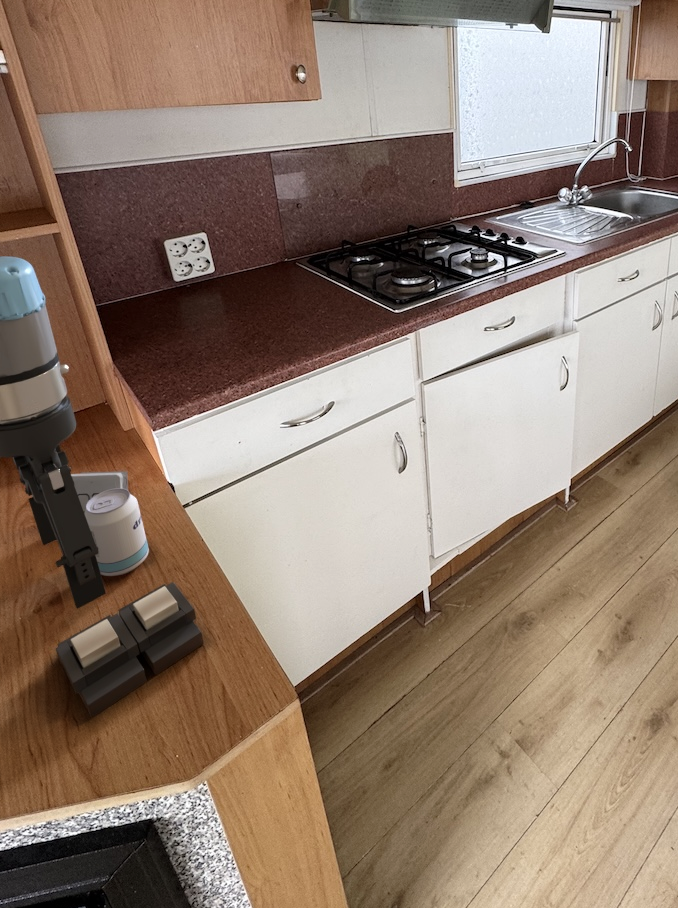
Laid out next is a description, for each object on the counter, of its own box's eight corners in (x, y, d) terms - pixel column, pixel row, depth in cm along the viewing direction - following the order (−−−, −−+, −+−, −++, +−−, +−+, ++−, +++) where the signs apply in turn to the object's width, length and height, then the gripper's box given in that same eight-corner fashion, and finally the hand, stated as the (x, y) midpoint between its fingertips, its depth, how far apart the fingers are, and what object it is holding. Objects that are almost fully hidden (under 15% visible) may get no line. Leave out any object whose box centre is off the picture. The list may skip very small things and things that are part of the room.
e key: (135, 613, 77) (132, 603, 77) (166, 595, 80) (164, 585, 80) (146, 631, 75) (144, 621, 74) (179, 611, 78) (176, 601, 77)
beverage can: (150, 570, 89) (135, 506, 85) (96, 588, 85) (78, 522, 81) (149, 541, 94) (135, 480, 90) (99, 557, 91) (81, 494, 87)
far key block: (117, 623, 80) (111, 601, 79) (170, 593, 85) (165, 572, 83) (151, 678, 73) (145, 655, 71) (207, 641, 78) (202, 619, 76)
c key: (73, 649, 72) (70, 639, 72) (109, 628, 75) (106, 618, 75) (83, 669, 70) (80, 658, 69) (120, 646, 73) (117, 636, 72)
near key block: (56, 659, 75) (49, 636, 73) (116, 624, 80) (110, 602, 78) (87, 721, 68) (79, 697, 66) (151, 679, 72) (145, 655, 71)
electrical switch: (63, 532, 96) (53, 482, 94) (82, 513, 101) (73, 465, 99) (122, 529, 97) (114, 480, 95) (138, 511, 102) (131, 464, 100)
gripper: (106, 437, 55) (148, 607, 62) (38, 359, 70) (78, 502, 77) (5, 473, 50) (64, 654, 57) (-44, 380, 65) (7, 532, 72)
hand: (72, 567), depth 67 cm, fingers open, 13 cm apart
